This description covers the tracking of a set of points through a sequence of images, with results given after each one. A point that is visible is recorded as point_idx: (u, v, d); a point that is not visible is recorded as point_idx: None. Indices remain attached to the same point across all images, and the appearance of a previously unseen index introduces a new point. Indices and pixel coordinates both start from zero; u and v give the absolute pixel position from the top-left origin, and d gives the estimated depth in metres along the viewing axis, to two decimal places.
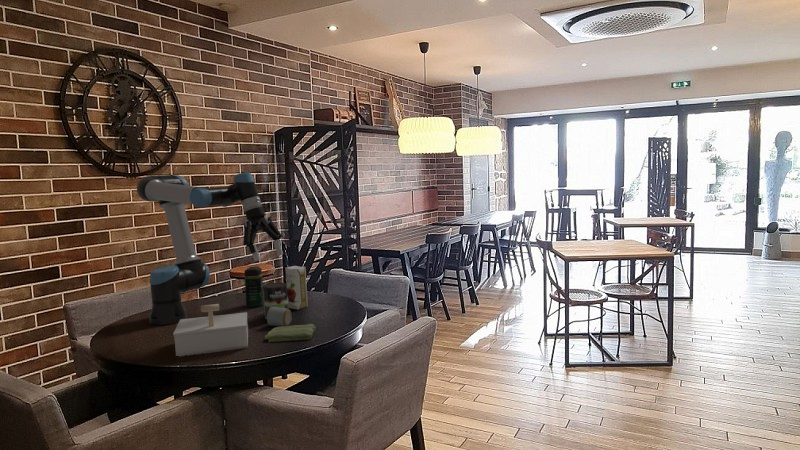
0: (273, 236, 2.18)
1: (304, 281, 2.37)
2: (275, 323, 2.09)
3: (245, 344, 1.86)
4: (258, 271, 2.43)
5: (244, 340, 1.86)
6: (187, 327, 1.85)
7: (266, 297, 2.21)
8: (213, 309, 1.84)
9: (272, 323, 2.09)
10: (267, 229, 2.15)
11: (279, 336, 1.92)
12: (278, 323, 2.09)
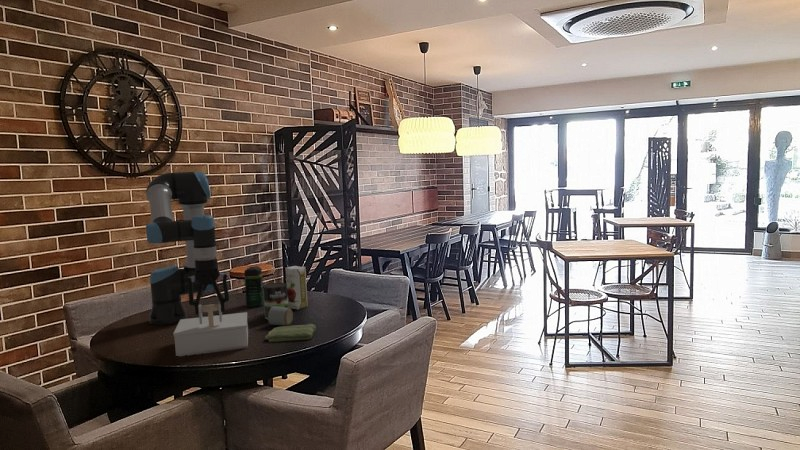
0: (218, 296, 1.85)
1: (304, 281, 2.37)
2: (276, 322, 2.10)
3: (245, 344, 1.86)
4: (258, 271, 2.43)
5: (244, 340, 1.86)
6: (187, 327, 1.85)
7: (266, 297, 2.21)
8: (213, 309, 1.84)
9: (274, 322, 2.10)
10: (213, 286, 1.84)
11: (279, 336, 1.92)
12: (279, 322, 2.10)
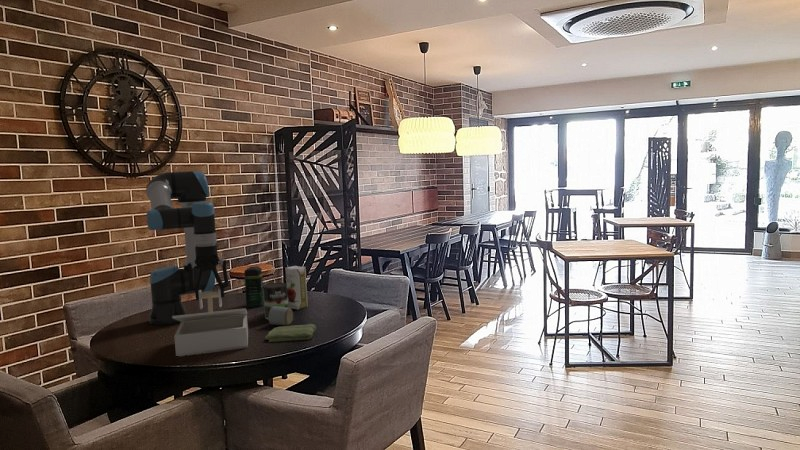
0: (218, 282, 1.89)
1: (304, 281, 2.37)
2: (277, 322, 2.10)
3: (245, 344, 1.86)
4: (258, 271, 2.43)
5: (244, 340, 1.86)
6: None
7: (266, 297, 2.21)
8: (213, 295, 1.87)
9: (274, 322, 2.11)
10: (213, 272, 1.88)
11: (279, 336, 1.92)
12: (280, 322, 2.10)
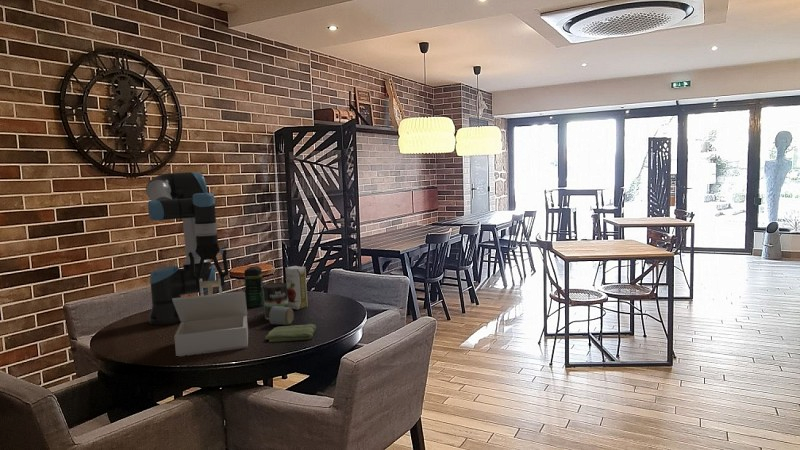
0: (218, 271, 1.94)
1: (304, 281, 2.37)
2: (277, 322, 2.11)
3: (245, 344, 1.86)
4: (258, 271, 2.43)
5: (244, 340, 1.86)
6: None
7: (266, 297, 2.21)
8: (213, 283, 1.91)
9: (275, 322, 2.11)
10: None
11: (280, 336, 1.92)
12: (280, 322, 2.10)
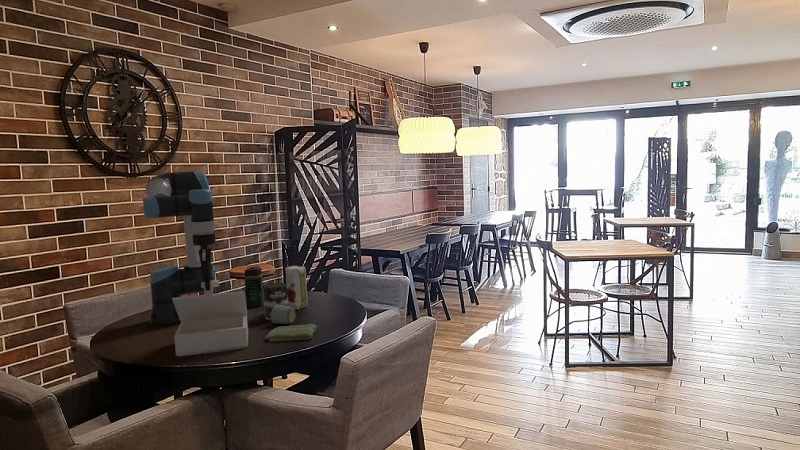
0: None
1: (304, 281, 2.37)
2: (279, 321, 2.12)
3: (245, 344, 1.86)
4: (258, 271, 2.43)
5: (244, 340, 1.86)
6: None
7: (266, 297, 2.21)
8: (213, 283, 1.91)
9: (277, 321, 2.12)
10: None
11: (280, 336, 1.92)
12: (282, 321, 2.12)
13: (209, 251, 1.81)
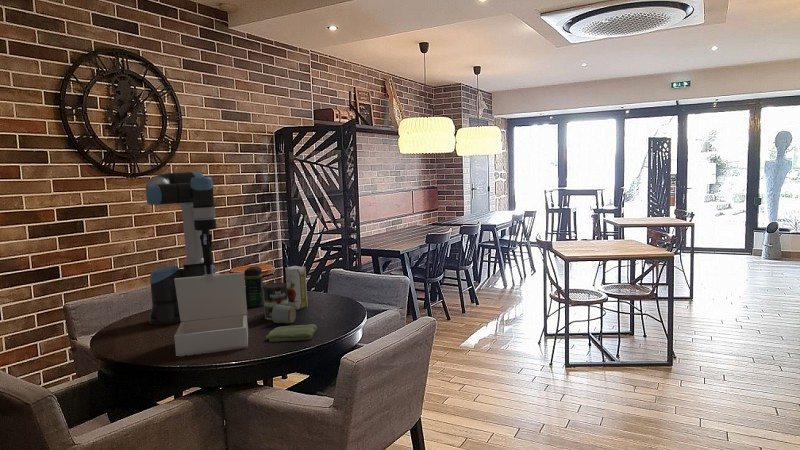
0: None
1: (304, 281, 2.37)
2: (280, 320, 2.13)
3: (245, 344, 1.86)
4: (258, 271, 2.43)
5: (244, 340, 1.86)
6: None
7: (266, 297, 2.21)
8: (214, 274, 2.00)
9: (277, 320, 2.13)
10: None
11: (280, 336, 1.92)
12: (283, 320, 2.12)
13: (210, 236, 1.88)
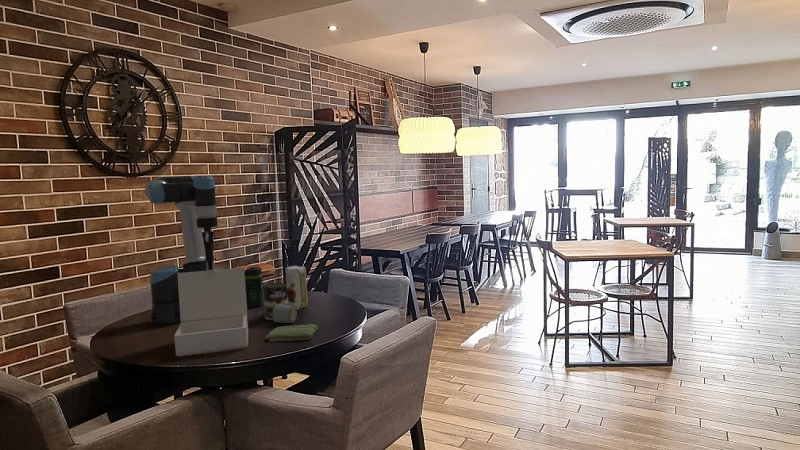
0: None
1: (304, 281, 2.37)
2: (281, 320, 2.13)
3: (245, 344, 1.86)
4: (258, 271, 2.43)
5: (244, 340, 1.86)
6: None
7: (266, 297, 2.21)
8: None
9: (278, 320, 2.13)
10: None
11: (280, 336, 1.92)
12: (284, 320, 2.13)
13: (212, 233, 1.96)
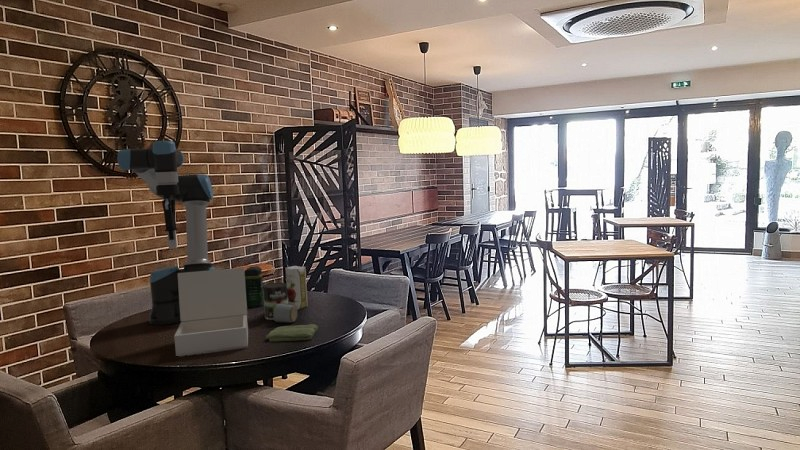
0: None
1: (304, 281, 2.37)
2: (281, 319, 2.14)
3: (245, 344, 1.86)
4: (258, 271, 2.43)
5: (244, 340, 1.86)
6: None
7: (266, 297, 2.21)
8: None
9: (279, 320, 2.14)
10: None
11: (280, 336, 1.92)
12: (284, 319, 2.13)
13: (172, 201, 1.86)
